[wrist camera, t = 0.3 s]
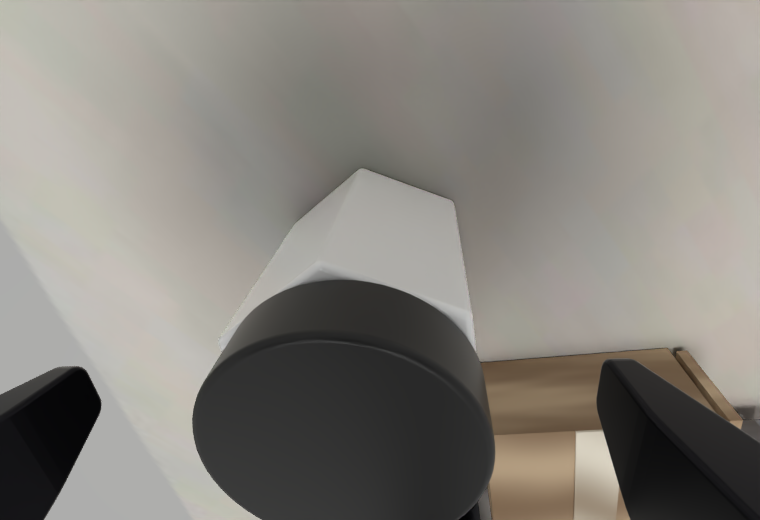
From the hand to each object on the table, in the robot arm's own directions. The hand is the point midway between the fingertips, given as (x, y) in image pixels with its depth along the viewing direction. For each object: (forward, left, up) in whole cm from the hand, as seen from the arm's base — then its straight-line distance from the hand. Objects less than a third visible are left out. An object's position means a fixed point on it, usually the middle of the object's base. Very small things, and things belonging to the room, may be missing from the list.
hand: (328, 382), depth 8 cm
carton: (-17, -8, -14) cm, 24 cm away
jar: (-5, +1, -14) cm, 15 cm away
